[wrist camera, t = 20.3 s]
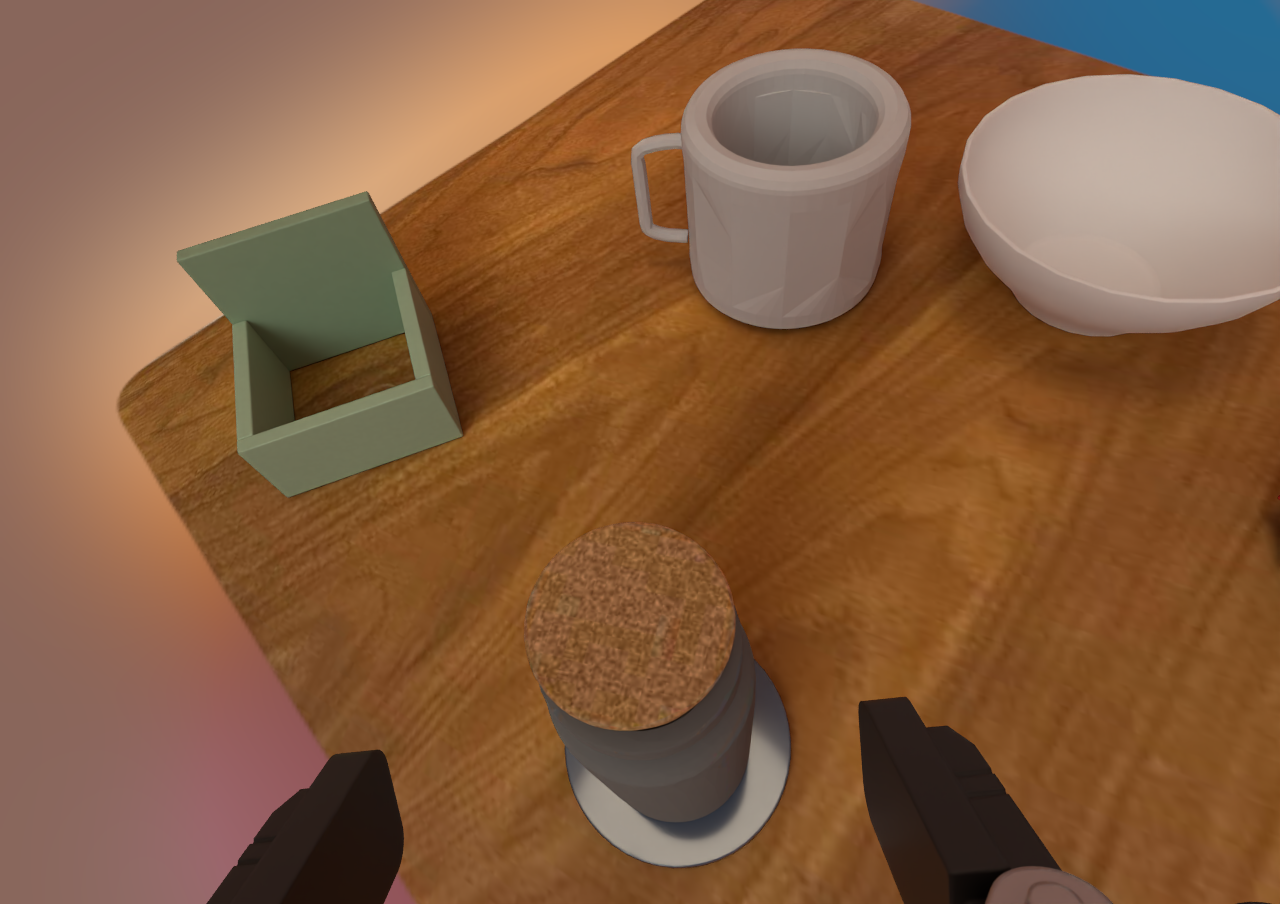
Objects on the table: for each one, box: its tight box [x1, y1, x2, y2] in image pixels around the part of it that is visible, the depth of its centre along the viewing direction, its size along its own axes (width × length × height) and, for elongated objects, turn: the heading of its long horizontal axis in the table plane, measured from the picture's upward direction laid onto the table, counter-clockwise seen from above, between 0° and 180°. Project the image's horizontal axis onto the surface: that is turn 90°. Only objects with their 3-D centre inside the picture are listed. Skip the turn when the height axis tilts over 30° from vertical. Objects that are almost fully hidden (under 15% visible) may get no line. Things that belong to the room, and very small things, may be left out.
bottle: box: [524, 522, 756, 822], centre depth 22 cm, size 6×6×15 cm
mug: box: [631, 49, 911, 329], centre depth 38 cm, size 14×11×10 cm
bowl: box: [958, 74, 1280, 336], centre depth 36 cm, size 16×16×7 cm
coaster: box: [565, 659, 791, 868], centre depth 29 cm, size 9×9×1 cm
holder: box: [177, 191, 463, 497], centre depth 36 cm, size 10×10×9 cm
